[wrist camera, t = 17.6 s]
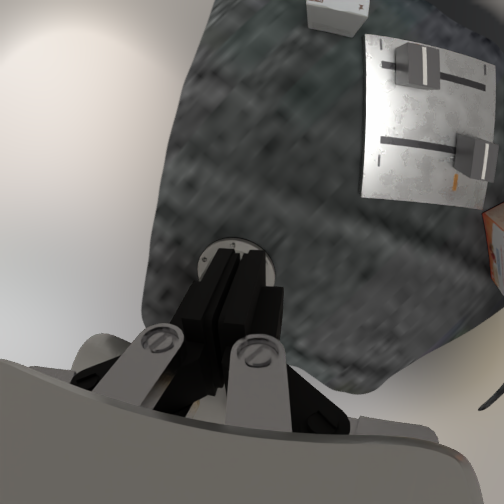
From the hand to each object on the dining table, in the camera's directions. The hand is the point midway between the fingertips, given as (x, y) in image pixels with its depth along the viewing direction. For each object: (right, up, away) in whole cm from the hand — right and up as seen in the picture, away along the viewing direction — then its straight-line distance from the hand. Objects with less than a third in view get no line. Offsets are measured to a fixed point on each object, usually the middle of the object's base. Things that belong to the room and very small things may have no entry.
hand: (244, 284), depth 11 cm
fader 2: (+29, +15, +21) cm, 39 cm away
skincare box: (+10, +31, +19) cm, 37 cm away
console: (+25, +19, +22) cm, 38 cm away
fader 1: (+20, +24, +18) cm, 36 cm away
